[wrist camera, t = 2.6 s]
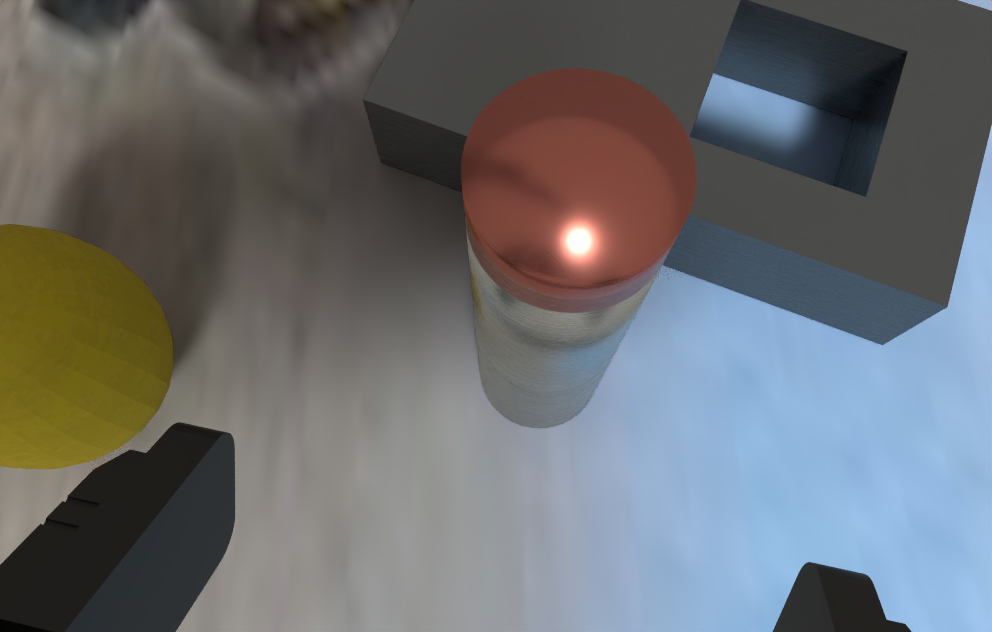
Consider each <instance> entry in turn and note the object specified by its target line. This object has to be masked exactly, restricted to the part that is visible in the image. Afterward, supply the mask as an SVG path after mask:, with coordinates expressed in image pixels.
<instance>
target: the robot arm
mask: <svg viewBox="0 0 992 632" xmlns="http://www.w3.org/2000/svg"><path fill="white" fill-rule="evenodd" d="M234 522H235V446H234V439H233V437H232V435H231V434H230V433H226V432H222V431H217V430H213V429H208V428H204V427H199V426H194V425H190V424H185V423H179V422H178V423H175V424H174V425H172V426H171V427H170V428H169V429H168V430H167V431H166V432H165V433H164V434H163V435H162V436H161V438H160V439H159V440H158V441H157V442H156V443H155V444H154V445H153V446H152V447H151V449H150V450H149V451H148V452H147V453H143V452H139V451H134V450H129V451H127V452H125V453H123V454H121V455H119V456H118V457H116V458H114V459H112V460H110V461H108V462H107V463H105V464H103V465H101V466H99V467H97V468H95V469H94V470H93V471H92V472H91V473H90V474H89V475H88V476H87V477H86V478H85V479H84V480H83V481H82V482H81V483H80V484H79V485H78V486H77V487H76V488H75V489H74V490H73V491H72V492H71V493H70V494H69V495H68V498H67V500H66V502H63V501H62V502H61V503H60V504H59V505H58V506H57V507H56V508H55V510H54V511H53V512H52V513H51V514H50V515H49V516H48V517H47V518H46V521H45V523H44V524H43V525H42V524H40V525H39V526H38V527H37V528H36V529H35V530H34V531H33V532H32V533H31V534H30V535H29V536H28V537H27V538H26V539H25V540H24V541H23V542H22V543H21V544H20V545H19V546H18V547H17V548H16V549H15V550H14V551H13V552H12V553H11V554H10V556H9V557H8V558H7V559H6V560H5V561H4V562H3V563H2V564H1V565H0V632H176V630H177V629H178V627H179V625H180V624H181V622H182V621H183V619H184V618H185V616H186V615H187V613H188V611H189V610H190V608H191V607H192V605H193V604H194V602H195V601H196V599H197V597H198V596H199V594H200V593H201V591H202V590H203V588H204V586H205V585H206V583H207V582H208V580H209V579H210V577H211V576H212V574H213V572H214V571H215V569H216V568H217V566H218V565H219V563H220V561H221V560H222V558H223V556H224V554H225V552H226V550H227V547H228V545H229V542H230V539H231V536H232V532H233V528H234ZM773 632H911V630H910V629H909V628H908V627H907V626H906V624H903V623H898V622H894V621H889V620H886V617H885V614H884V612H883V609H882V606H881V603H880V601H879V598H878V595H877V592H876V589H875V587H874V584H873V582H872V580H871V579H870V577H868V576H867V575H865V574H862V573H857V572H853V571H848V570H844V569H839V568H835V567H830V566H825V565H821V564H816V563H812V562H808V563H806V564H805V565H804V566H803V567H802V568H801V570H800V572H799V574H798V576H797V578H796V581H795V583H794V585H793V587H792V590H791V592H790V594H789V596H788V599H787V601H786V603H785V605H784V608H783V610H782V612H781V614H780V617H779V619H778V621H777V623H776V626H775V628H774V630H773Z"/></svg>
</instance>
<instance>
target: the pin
mask: <svg viewBox="0 0 992 632" xmlns="http://www.w3.org/2000/svg"><path fill="white" fill-rule="evenodd" d="M461 180H462V191H463V202H464V212H465V222H466V233H467V243H468V253H469V264H470V274H471V285H472V295H473V305H474V316H475V326H476V336H477V347H478V357H479V367H480V378H481V383H482V386H483V389H484V392H485V394H486V396H487V398H488V400H489V401H490V403H491V404H492V406H493V407H494V408H495V409H496V410H497V411H498V412H499V413H500V414H502V415H503V416H504V417H506V418H507V419H509V420H510V421H512V422H514V423H516V424H519V425H522V426H526V427H531V428H549V427H554V426H558V425H560V424H563V423H565V422H567V421H569V420H571V419H572V418H574V417H575V416H577V415H578V414H579V413H580V412H581V411H582V410H583V409H584V408H585V407H586V405H587V404H588V403H589V401H590V399H591V398H592V396H593V394H594V392H595V390H596V388H597V386H598V385H599V383H600V381H601V379H602V377H603V375H604V373H605V371H606V370H607V368H608V366H609V364H610V362H611V360H612V358H613V356H614V355H615V353H616V351H617V349H618V347H619V345H620V343H621V342H622V340H623V338H624V336H625V334H626V332H627V330H628V328H629V327H630V325H631V323H632V321H633V319H634V317H635V315H636V313H637V312H638V310H639V308H640V306H641V304H642V302H643V300H644V298H645V297H646V295H647V293H648V291H649V289H650V287H651V285H652V283H653V282H654V280H655V278H656V276H657V274H658V272H659V270H660V268H661V267H662V265H663V263H664V261H665V259H666V257H667V255H668V254H669V252H670V250H671V248H672V246H673V244H674V242H675V240H676V239H677V237H678V235H679V233H680V231H681V229H682V227H683V225H684V224H685V222H686V219H687V217H688V215H689V213H690V210H691V208H692V204H693V200H694V197H695V191H696V183H697V177H696V163H695V157H694V153H693V150H692V147H691V143H690V141H689V138H688V136H687V134H686V132H685V130H684V128H683V127H682V125H681V124H680V122H679V121H678V119H677V117H676V116H675V115H674V114H673V113H672V111H671V110H670V109H669V108H668V107H667V106H666V105H665V104H664V103H663V102H662V101H661V100H660V99H659V98H657V97H656V96H655V95H654V94H652V93H651V92H649V91H648V90H647V89H645V88H644V87H642V86H640V85H638V84H636V83H635V82H633V81H631V80H628V79H626V78H623V77H621V76H618V75H615V74H611V73H608V72H604V71H599V70H592V69H579V68H570V69H558V70H552V71H547V72H543V73H539V74H536V75H533V76H530V77H528V78H525V79H523V80H521V81H519V82H517V83H515V84H513V85H512V86H510V87H508V88H507V89H505V90H504V91H503V92H501V93H500V94H499V95H497V96H496V97H495V98H494V99H493V100H492V101H491V102H490V103H489V104H488V105H487V106H486V107H485V108H484V109H483V111H482V112H481V113H480V115H479V116H478V117H477V119H476V120H475V122H474V124H473V126H472V128H471V129H470V131H469V134H468V137H467V139H466V142H465V145H464V150H463V154H462V162H461Z"/></svg>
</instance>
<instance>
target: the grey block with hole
mask: <svg viewBox="0 0 992 632" xmlns="http://www.w3.org/2000/svg"><path fill="white" fill-rule="evenodd" d="M570 68H579V69H592V70H599V71H604V72H608V73H611V74H615V75H618V76H621V77H623V78H626V79H628V80H631V81H633V82H635V83H636V84H638V85H640V86H642V87H644V88H645V89H647V90H648V91H649V92H651V93H652V94H654V95H655V96H656V97H657V98H659V99H660V100H661V101H662V102H663V103H664V104H665V105H666V106H667V107H668V108H669V109H670V110H671V111H672V113H673V114H674V115H675V116H676V117H677V119H678V121H679V122H680V124H681V125H682V127H683V128H684V130H685V132H686V134H687V136H688V138H689V141H690V143H691V147H692V150H693V153H694V157H695V163H696V177H697V183H696V191H695V197H694V200H693V204H692V208H691V210H690V213H689V215H688V217H687V219H686V222H685V224H684V225H683V227H682V229H681V231H680V233H679V235H678V237H677V239H676V240H675V242H674V244H673V246H672V248H671V250H670V252H669V254H668V255H667V257H666V259H665V261H664V263H663V265H664V266H667V267H670V268H673V269H675V270H678V271H681V272H684V273H686V274H689V275H692V276H695V277H697V278H700V279H703V280H706V281H708V282H711V283H714V284H717V285H719V286H722V287H725V288H728V289H730V290H733V291H736V292H738V293H741V294H744V295H747V296H749V297H752V298H755V299H758V300H760V301H763V302H766V303H769V304H771V305H774V306H777V307H780V308H782V309H785V310H788V311H791V312H793V313H796V314H799V315H802V316H804V317H807V318H810V319H813V320H815V321H818V322H821V323H824V324H826V325H829V326H832V327H835V328H837V329H840V330H843V331H845V332H848V333H851V334H854V335H856V336H859V337H862V338H865V339H867V340H870V341H873V342H876V343H878V344H881V345H884V344H885V343H887V342H889V341H890V340H892V339H894V338H895V337H897V336H899V335H901V334H902V333H904V332H906V331H907V330H909V329H911V328H912V327H914V326H916V325H917V324H919V323H921V322H923V321H924V320H926V319H928V318H929V317H931V316H933V315H934V314H936V313H938V312H940V311H941V310H943V309H945V308H946V307H947V306H948V302H949V298H950V294H951V290H952V286H953V282H954V278H955V273H956V269H957V265H958V261H959V257H960V253H961V249H962V245H963V240H964V236H965V232H966V228H967V224H968V220H969V216H970V212H971V207H972V203H973V199H974V195H975V191H976V187H977V183H978V179H979V174H980V170H981V166H982V162H983V158H984V154H985V150H986V146H987V141H988V137H989V133H990V129H991V125H992V11H990V10H987V9H984V8H981V7H978V6H974V5H971V4H968V3H965V2H961V1H958V0H414V2H413V4H412V6H411V8H410V10H409V12H408V14H407V15H406V17H405V19H404V21H403V23H402V25H401V27H400V29H399V31H398V33H397V35H396V37H395V38H394V40H393V42H392V44H391V46H390V48H389V50H388V52H387V54H386V56H385V58H384V60H383V61H382V63H381V65H380V67H379V69H378V71H377V73H376V75H375V77H374V79H373V81H372V83H371V84H370V86H369V88H368V90H367V92H366V94H365V96H364V98H363V102H364V105H365V109H366V112H367V115H368V119H369V122H370V126H371V129H372V133H373V136H374V140H375V143H376V146H377V150H378V153H379V157H380V160H381V162H382V163H385V164H387V165H390V166H393V167H396V168H398V169H401V170H404V171H407V172H409V173H412V174H415V175H417V176H420V177H423V178H426V179H428V180H431V181H434V182H437V183H439V184H442V185H445V186H448V187H450V188H453V189H456V190H459V191H461V192H463V191H462V180H461V162H462V154H463V150H464V145H465V142H466V139H467V137H468V134H469V131H470V129H471V128H472V126H473V124H474V122H475V120H476V119H477V117H478V116H479V115H480V113H481V112H482V111H483V109H484V108H485V107H486V106H487V105H488V104H489V103H490V102H491V101H492V100H493V99H494V98H495V97H496V96H497V95H499V94H500V93H501V92H503V91H504V90H505V89H507V88H508V87H510V86H512V85H513V84H515V83H517V82H519V81H521V80H523V79H525V78H528V77H530V76H533V75H536V74H539V73H543V72H547V71H552V70H558V69H570ZM713 73H715V74H718V75H721V76H724V77H727V78H730V79H733V80H736V81H739V82H742V83H745V84H748V85H751V86H754V87H757V88H760V89H763V90H766V91H769V92H772V93H775V94H778V95H781V96H784V97H787V98H790V99H793V100H796V101H799V102H802V103H805V104H808V105H811V106H814V107H817V108H820V109H823V110H827V111H830V112H833V113H836V114H839V115H842V116H845V117H848V118H851V119H854V122H853V125H852V129H851V132H850V135H849V139H848V142H847V145H846V149H845V152H844V155H843V158H842V162H841V165H840V168H839V172H838V175H837V178H836V182H835V185H834V186H832V185H829V184H826V183H823V182H820V181H818V180H815V179H812V178H809V177H806V176H803V175H800V174H797V173H794V172H791V171H788V170H785V169H783V168H780V167H777V166H774V165H771V164H768V163H765V162H762V161H759V160H756V159H753V158H750V157H748V156H745V155H742V154H739V153H736V152H733V151H730V150H727V149H724V148H721V147H718V146H715V145H713V144H710V143H707V142H704V141H701V140H698V139H695V138H692V137H690V134H691V131H692V129H693V126H694V123H695V121H696V118H697V115H698V113H699V110H700V107H701V105H702V102H703V99H704V96H705V94H706V91H707V88H708V86H709V83H710V80H711V78H712V75H713Z"/></svg>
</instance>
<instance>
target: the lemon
mask: <svg viewBox="0 0 992 632" xmlns="http://www.w3.org/2000/svg"><path fill="white" fill-rule="evenodd" d="M173 367H174V356H173V338H172V335H171V332H170V329H169V326H168V323H167V320H166V317H165V314H164V311H163V309H162V307H161V306H160V304H159V303H158V301H157V300H156V298H155V297H154V295H153V294H152V292H151V291H150V290H149V288H148V287H147V285H146V284H145V283H144V282H143V280H142V279H141V278H140V277H139V276H138V275H136V274H135V273H134V272H133V271H132V270H130V269H129V268H128V267H127V266H125V265H124V264H123V263H122V262H120V261H119V260H118V259H117V258H115V257H114V256H113V255H111V254H110V253H108V252H106V251H105V250H103V249H101V248H99V247H96V246H94V245H92V244H89V243H87V242H84V241H82V240H80V239H77V238H75V237H72V236H70V235H67V234H65V233H61V232H58V231H54V230H49V229H44V228H37V227H30V226H24V225H11V224H7V225H0V466H3V467H9V468H25V469H58V468H63V467H67V466H72V465H76V464H80V463H85V462H89V461H92V460H95V459H97V458H99V457H101V456H103V455H105V454H107V453H109V452H111V451H113V450H115V449H118V448H119V447H121V446H122V445H124V444H125V443H126V442H127V441H129V440H130V439H131V438H133V437H134V436H135V435H136V434H138V433H139V432H140V431H141V430H143V428H144V427H145V426H146V425H147V423H148V422H149V421H150V420H151V418H152V417H153V416H154V415H155V413H156V412H157V411H158V409H159V407H160V405H161V403H162V401H163V399H164V397H165V395H166V393H167V391H168V389H169V385H170V380H171V376H172V371H173Z"/></svg>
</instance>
